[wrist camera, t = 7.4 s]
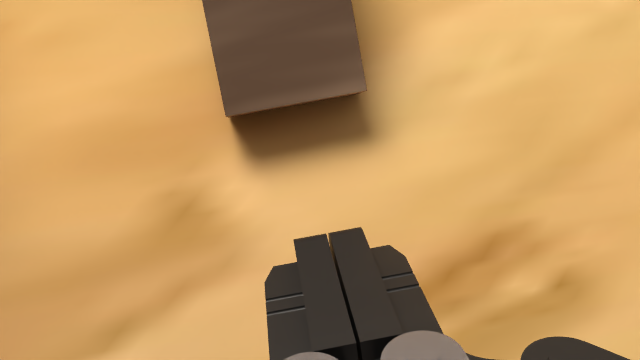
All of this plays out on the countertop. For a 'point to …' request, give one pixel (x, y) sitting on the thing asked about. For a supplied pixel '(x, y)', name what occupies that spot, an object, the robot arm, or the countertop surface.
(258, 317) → the countertop surface
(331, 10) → the domino
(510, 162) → the countertop surface
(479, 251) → the countertop surface
